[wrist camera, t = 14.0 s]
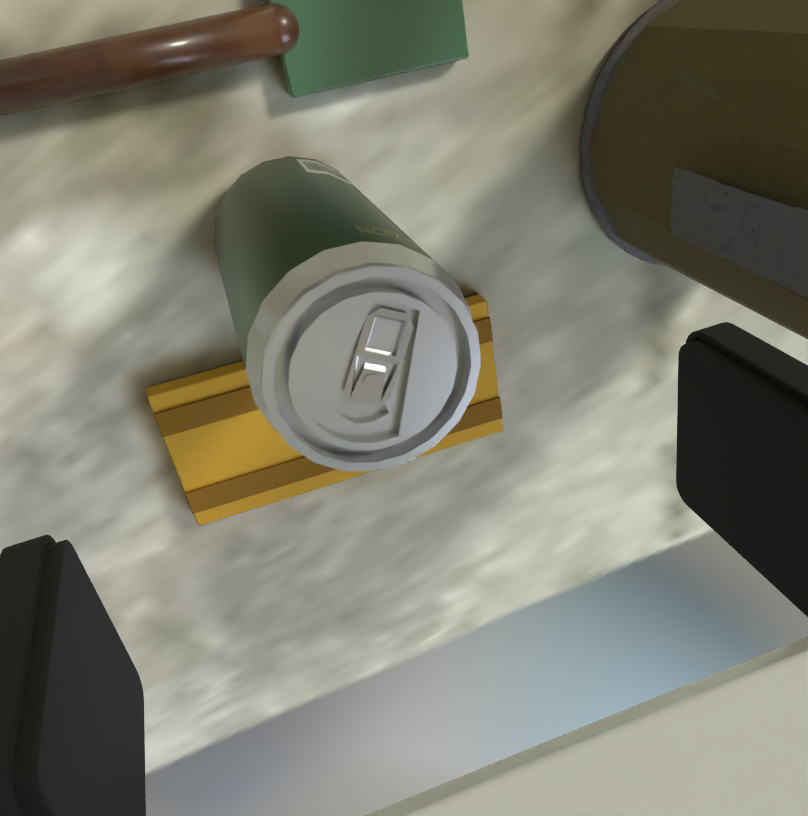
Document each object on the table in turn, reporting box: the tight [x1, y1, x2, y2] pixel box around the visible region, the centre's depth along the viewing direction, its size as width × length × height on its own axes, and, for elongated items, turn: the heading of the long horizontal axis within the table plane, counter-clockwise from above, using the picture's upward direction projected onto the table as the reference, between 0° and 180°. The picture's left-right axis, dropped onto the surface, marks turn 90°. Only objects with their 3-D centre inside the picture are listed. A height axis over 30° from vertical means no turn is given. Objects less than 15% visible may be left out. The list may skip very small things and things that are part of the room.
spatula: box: [0, 0, 468, 116], centre depth 23 cm, size 17×4×1 cm, turn 100°
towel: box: [147, 294, 503, 526], centre depth 30 cm, size 13×6×1 cm, turn 100°
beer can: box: [214, 156, 481, 471], centre depth 22 cm, size 5×5×12 cm
